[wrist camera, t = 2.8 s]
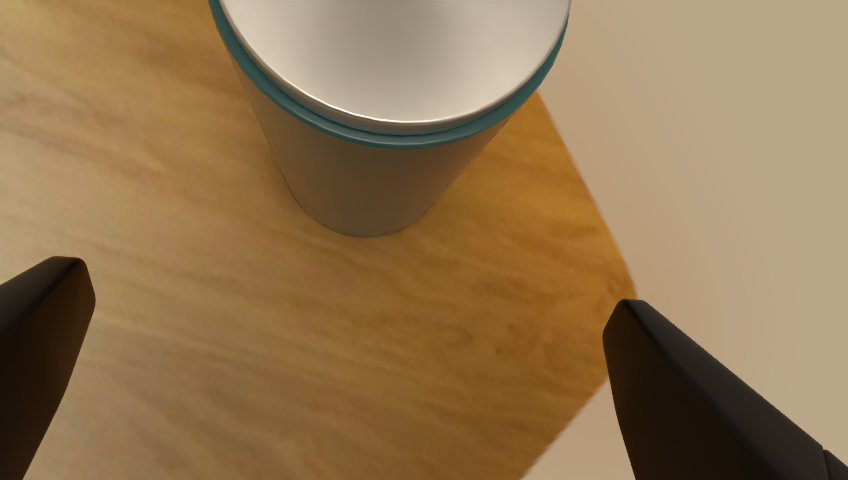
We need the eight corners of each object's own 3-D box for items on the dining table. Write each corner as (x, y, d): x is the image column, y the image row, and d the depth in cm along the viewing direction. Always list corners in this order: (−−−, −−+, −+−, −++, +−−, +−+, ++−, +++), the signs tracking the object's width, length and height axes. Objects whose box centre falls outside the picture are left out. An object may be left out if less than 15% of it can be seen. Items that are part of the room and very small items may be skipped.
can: (475, 187, 22) (655, 29, 10) (335, 268, 21) (326, 211, 8) (394, 51, 22) (463, -282, 10) (250, 124, 21) (113, -150, 8)
